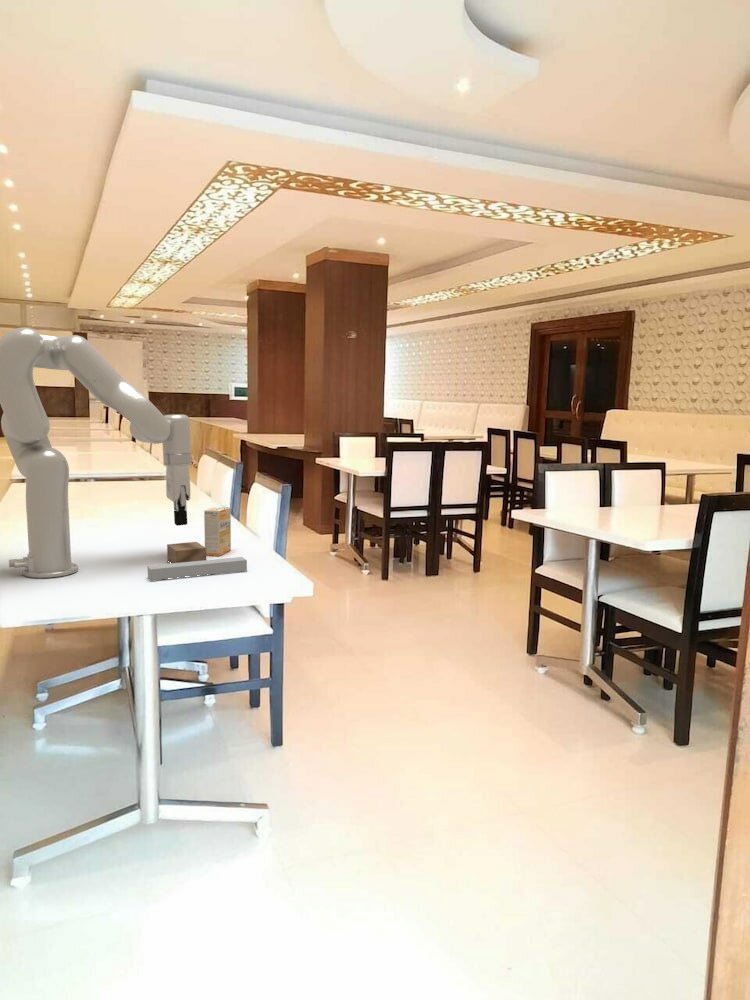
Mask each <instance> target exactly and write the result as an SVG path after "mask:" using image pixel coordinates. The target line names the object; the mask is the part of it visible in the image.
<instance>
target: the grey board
mask: <svg viewBox="0 0 750 1000" xmlns="http://www.w3.org/2000/svg"><path fill="white" fill-rule="evenodd" d="M247 562H248V560H247V559H246V558H245V557H243V556H236V557H225V558H218V559H206V560H203V561H193V562H182V563H171V564H170V563H164V564H161V563H160V564H151V565H147V578H148V580H149V579H150V580H151V581H150V580H149V581H150V582H154V581H153V580H159V581H162V580H161V579H168V578H177V577H185V576H197V575H207V574H208V576H210V575H209V574H217V575H221V574H220V573H227V574H231V573H230V572H237V573H242V572H241V571H246V572H248V563H247Z"/></svg>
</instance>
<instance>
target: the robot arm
mask: <svg viewBox="0 0 750 1000" xmlns="http://www.w3.org/2000/svg"><path fill="white" fill-rule="evenodd" d="M34 368H36V369H37V368H38V369H39V368H40V369H47V370H61V371H68V372H69V373H70V374H71V375H73V377H75V379H77V380H78V381H79V382H80V383H81V385H82V386H84V388H85V389H86V390H87V391H88V392H89V393H90V394H91V395H92V396H93V397H94V398H95V399H96V400H97V401H99V402H100V403H102V404H103V405H104V406H107V407H109V408H110V409H113V410H115V411H116V412H117V413H119V414H120V415H121V416H123V417H124V418H125V420H126V419H127V421H129V422H130V423H129V432H130V435H131V436H132V438H134V439H135V440H137V441H139V442H142V443H146V444H152V445H153V444H154V445H155V444H156V445H159V444H161V445H162V453H163V454H162V458H163V459H162V460H163V462H162V463H163V466H165V468H166V469H165V473H166V474H165V481H166V482H165V488H166V491H165V493H166V495H165V496H166V498H167V499H168V500H170V501H171V502H173V509H174V510H173V517H174V525H175V526H177V527H178V526H187V525H188V513H187V512H188V511H187V501H190V500H191V481H190V469H189V466H190V465H193V464H192V463H193V461H192V441H191V424H190V423H191V421H190V417H189V416H188V415H187V414H179V413H178V414H177V413H176V414H175V413H174V414H164V415H163V413H161V411H160V410H159V409H158V407H156V405H154V404H153V403H152V401H150V400H149V399H148V398H147V397H146V396H145V395H144V394H143V393H141V392H140V391H139V390H138V389H137V388H135V386H133V385H132V384H131V383H130V382H129V381H127V380H126V379H125V378H124V377H123V376H122V375H121V374H120V373H119V372H118V371H117V370H116V369H115V368H114V366H112V365H111V364H110V363H109V362H108V360H107V359H106V358H105V357H104V356H103V355H102V354H101V353H100V352H99V351H98V350H97V349H96V348H95V346H94V345H92V344H91V342H89V340H87V339H86V338H85V337H83V336H81V335H76V334H75V335H74V334H73V335H65V336H57V335H55V336H54V335H49V334H40V333H39V332H38V331H37V330H36V329H33V328H31V327H18V328H14V329H12V330H10V331H8V332H6V333H4V334H3V336H2V337H1V338H0V406H1V409H2V411H3V413H2V416H1V420H0V426H1V430H2V434H3V436H4V438H5V442H6V445H7V446H8V448H9V451H10V453H11V456H12V459H13V460H14V464H15V465H16V468H17V470H18V471H19V473H20V474H21V475H22V476H23V477H24V478H25V507H26V508H25V510H26V512H25V513H26V522H27V523H26V525H27V526H26V527H27V543H28V554H26V556H23V558H21V559H20V558H18V559H17V558H14V559H13V558H11V559H8V565H9V566H8V567H9V568H14V569H18V568H23V570H22V575H23V576H25V577H27V578H34V579H35V578H37V579H38V578H39V579H50V578H57V577H65V576H67V575H68V576H69V575H72V574H74V573H76V572H78V570H79V565H78V564H77V563H74V562H72V551H71V550H72V549H71V548H72V547H71V531H70V527H71V526H70V511H69V508H70V507H69V481H70V480H69V479H70V467H69V463H68V460H67V458H66V457H65V455H64V454H63V453H62V452H61V451H59V450H58V449H56V448H55V447H54V448H53V446H52V443H51V442H50V438H49V436H48V435H49V432H50V426H51V425H50V420H49V418H48V417H49V416H48V415H47V412H46V411H45V408H44V406H43V404H42V401H41V399H40V395H39V393H38V391H37V387H36V385H35V381H34V374H33V372H34Z"/></svg>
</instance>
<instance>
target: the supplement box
mask: <svg viewBox="0 0 750 1000" xmlns="http://www.w3.org/2000/svg"><path fill="white" fill-rule="evenodd" d="M231 509H232V508H231V507H230V506H214V507H212V508H208V509H204V510H203V518H204V547H206V556H209V555H213V557H220V556H222V555H224V554H226V553H227V552H229V551H231V550H232V543H231V542H232V540H231V539H232V529H231V528H232V527H231V525H232V524H231V522H232V521H231V520H232V519H231V517H232V516H231V515H232V513H231Z"/></svg>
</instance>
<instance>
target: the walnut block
mask: <svg viewBox="0 0 750 1000" xmlns="http://www.w3.org/2000/svg"><path fill="white" fill-rule="evenodd" d="M166 548H167V549H166V550H167V551H166V552H167V553H166V554H167V558H166V559H167V562H168V561H169V562H171V563H182V562H193V561H203V560H207V555H206V547H205V545H202V544H200V543H199V542H198V541H191V542H179V543H167V545H166ZM169 562H168V563H169Z"/></svg>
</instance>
